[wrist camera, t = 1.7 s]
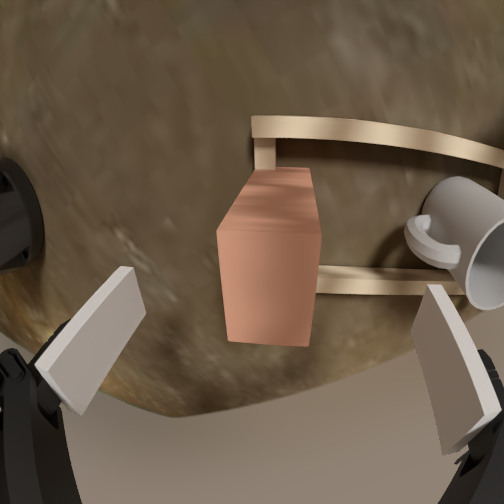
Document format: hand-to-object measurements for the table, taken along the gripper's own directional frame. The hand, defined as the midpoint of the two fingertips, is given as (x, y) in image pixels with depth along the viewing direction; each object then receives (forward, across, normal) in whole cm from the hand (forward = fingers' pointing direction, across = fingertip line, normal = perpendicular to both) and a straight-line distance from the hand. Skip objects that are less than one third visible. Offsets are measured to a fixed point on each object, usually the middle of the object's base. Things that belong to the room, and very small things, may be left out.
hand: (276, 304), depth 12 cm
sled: (+13, +9, 0) cm, 16 cm away
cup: (+13, +13, 0) cm, 19 cm away
